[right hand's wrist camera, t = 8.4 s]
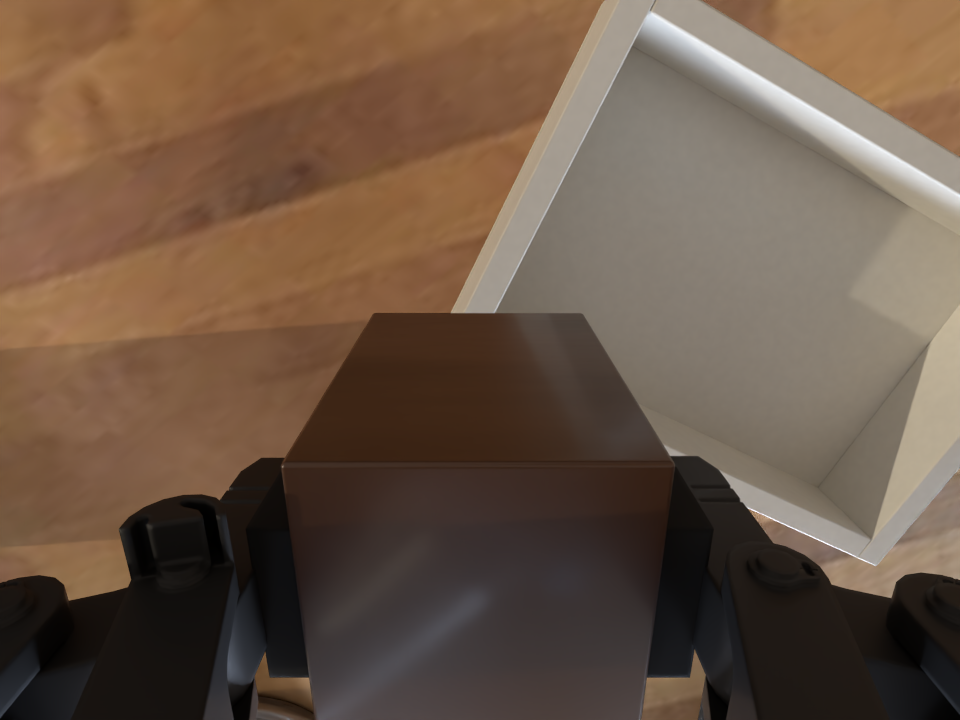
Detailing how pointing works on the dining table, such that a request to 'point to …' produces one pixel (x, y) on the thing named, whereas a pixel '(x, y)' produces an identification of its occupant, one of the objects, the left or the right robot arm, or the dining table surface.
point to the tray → (749, 266)
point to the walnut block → (478, 524)
